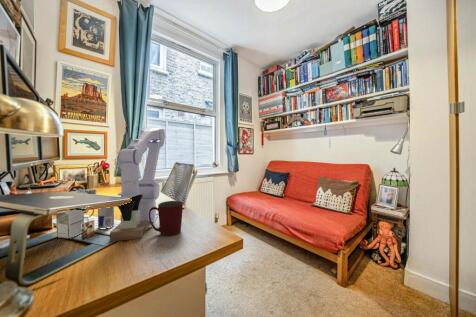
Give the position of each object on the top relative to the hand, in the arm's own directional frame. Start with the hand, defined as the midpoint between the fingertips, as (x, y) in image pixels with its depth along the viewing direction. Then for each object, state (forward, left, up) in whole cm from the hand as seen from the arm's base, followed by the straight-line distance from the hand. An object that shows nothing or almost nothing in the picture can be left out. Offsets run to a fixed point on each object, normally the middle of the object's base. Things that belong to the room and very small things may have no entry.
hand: (130, 217), depth 70 cm
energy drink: (-9, -12, -7) cm, 16 cm away
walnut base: (0, 0, -6) cm, 6 cm away
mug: (+2, +13, -7) cm, 15 cm away
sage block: (0, 0, -3) cm, 3 cm away
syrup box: (-3, -21, -7) cm, 22 cm away
